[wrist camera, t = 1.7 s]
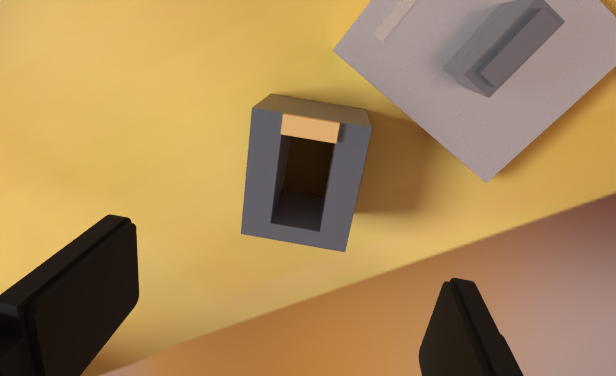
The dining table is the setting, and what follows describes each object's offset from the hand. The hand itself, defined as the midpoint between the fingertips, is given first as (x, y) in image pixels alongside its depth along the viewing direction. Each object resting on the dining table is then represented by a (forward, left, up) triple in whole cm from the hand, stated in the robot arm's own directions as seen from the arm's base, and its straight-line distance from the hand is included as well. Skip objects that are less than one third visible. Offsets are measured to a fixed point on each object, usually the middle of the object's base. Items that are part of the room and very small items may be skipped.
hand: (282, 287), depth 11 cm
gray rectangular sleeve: (0, 0, -14) cm, 14 cm away
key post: (+11, -3, -14) cm, 18 cm away
